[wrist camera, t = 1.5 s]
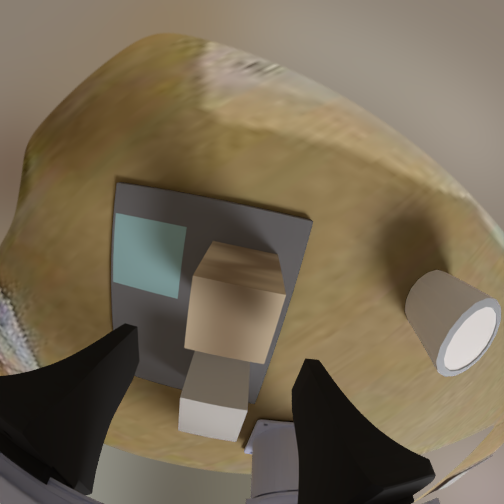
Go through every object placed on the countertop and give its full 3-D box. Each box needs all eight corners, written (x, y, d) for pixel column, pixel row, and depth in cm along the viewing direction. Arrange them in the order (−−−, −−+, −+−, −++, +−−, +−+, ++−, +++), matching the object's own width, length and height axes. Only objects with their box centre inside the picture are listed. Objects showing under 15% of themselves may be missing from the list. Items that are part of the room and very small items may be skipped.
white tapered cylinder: (386, 301, 20) (425, 351, 14) (442, 247, 19) (494, 278, 12) (415, 342, 22) (448, 389, 15) (464, 295, 20) (506, 331, 13)
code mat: (311, 219, 18) (313, 221, 18) (254, 399, 24) (254, 404, 23) (120, 182, 18) (116, 182, 17) (119, 366, 23) (117, 370, 23)
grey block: (250, 355, 21) (247, 410, 16) (240, 390, 23) (235, 441, 17) (196, 344, 21) (180, 397, 15) (192, 380, 22) (178, 430, 17)
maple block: (278, 254, 19) (286, 294, 13) (263, 310, 20) (264, 364, 14) (213, 240, 18) (192, 275, 13) (203, 298, 20) (184, 347, 14)
